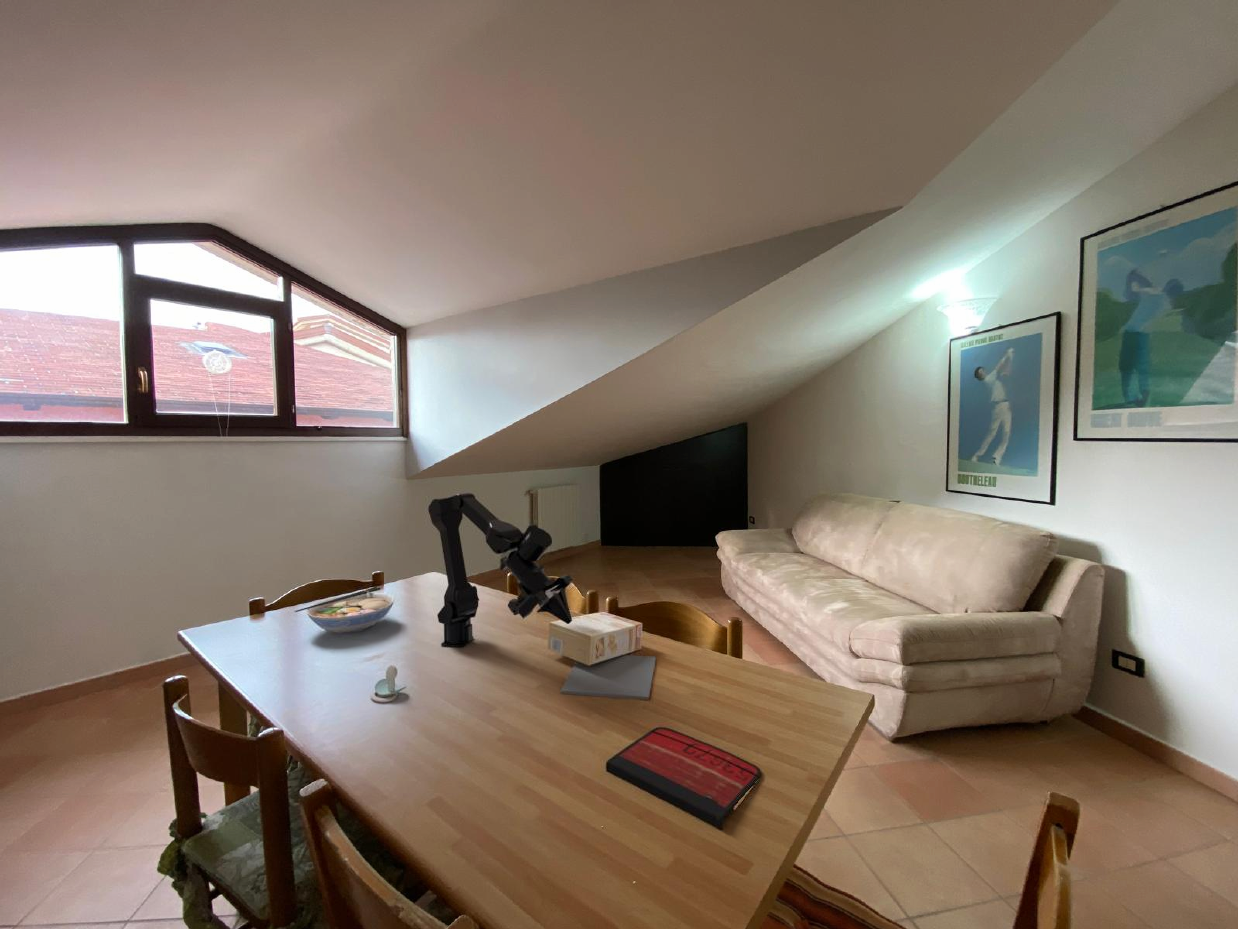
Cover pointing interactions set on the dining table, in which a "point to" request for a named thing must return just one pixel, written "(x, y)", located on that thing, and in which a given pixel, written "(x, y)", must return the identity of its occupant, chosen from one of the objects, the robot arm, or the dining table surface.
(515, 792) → the dining table surface
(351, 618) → the ramen bowl
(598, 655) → the coffeecake box
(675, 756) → the binder
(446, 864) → the dining table surface
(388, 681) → the pacifier
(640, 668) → the mat
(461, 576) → the robot arm
